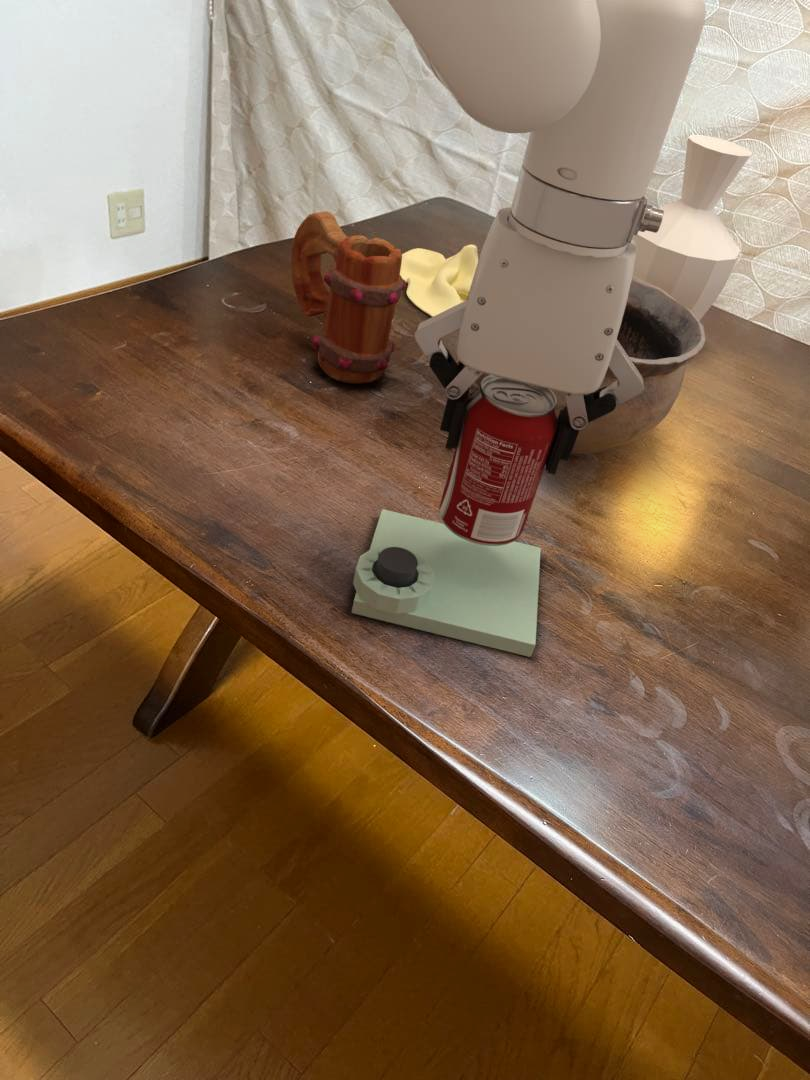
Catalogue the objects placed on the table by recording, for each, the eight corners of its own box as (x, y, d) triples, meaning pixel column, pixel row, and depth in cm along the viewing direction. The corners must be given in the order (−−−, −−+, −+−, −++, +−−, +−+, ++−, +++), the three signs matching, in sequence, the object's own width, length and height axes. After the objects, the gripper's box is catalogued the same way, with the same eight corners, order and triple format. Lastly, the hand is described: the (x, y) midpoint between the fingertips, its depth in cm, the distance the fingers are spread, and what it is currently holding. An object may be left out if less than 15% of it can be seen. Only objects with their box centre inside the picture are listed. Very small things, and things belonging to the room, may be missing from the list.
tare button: (371, 582, 65) (375, 567, 64) (379, 558, 67) (382, 542, 66) (410, 592, 65) (414, 577, 64) (416, 567, 67) (420, 552, 66)
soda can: (524, 558, 66) (572, 425, 58) (437, 545, 65) (474, 409, 57) (516, 505, 71) (559, 377, 63) (436, 493, 70) (469, 361, 63)
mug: (406, 383, 95) (433, 250, 85) (353, 402, 89) (376, 262, 80) (316, 327, 101) (332, 197, 92) (262, 342, 96) (274, 206, 87)
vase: (660, 316, 124) (733, 132, 108) (716, 366, 114) (805, 171, 98) (575, 313, 119) (638, 120, 103) (625, 365, 109) (704, 160, 93)
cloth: (384, 249, 124) (392, 206, 120) (508, 268, 127) (519, 226, 124) (397, 318, 107) (406, 271, 103) (539, 337, 110) (553, 292, 107)
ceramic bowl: (538, 362, 105) (576, 241, 95) (689, 451, 94) (748, 326, 85) (411, 406, 91) (440, 270, 82) (572, 517, 81) (627, 376, 71)
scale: (344, 615, 65) (349, 586, 63) (374, 519, 75) (380, 492, 73) (530, 661, 65) (541, 634, 63) (536, 559, 75) (546, 533, 73)
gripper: (705, 223, 55) (613, 453, 66) (442, 160, 55) (394, 400, 67) (721, 264, 49) (617, 509, 60) (427, 194, 50) (377, 450, 61)
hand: (501, 450), depth 63 cm, fingers closed on soda can, 6 cm apart
